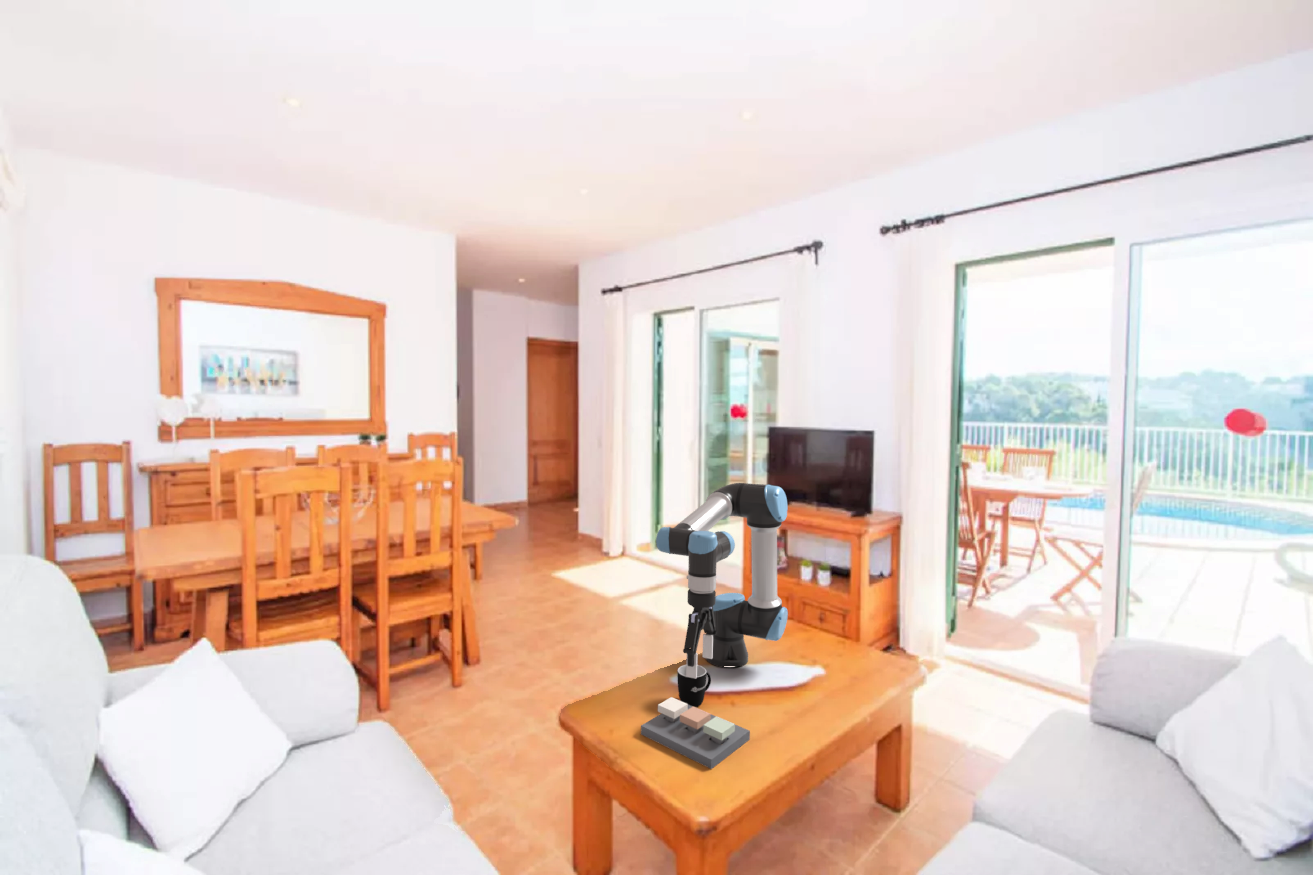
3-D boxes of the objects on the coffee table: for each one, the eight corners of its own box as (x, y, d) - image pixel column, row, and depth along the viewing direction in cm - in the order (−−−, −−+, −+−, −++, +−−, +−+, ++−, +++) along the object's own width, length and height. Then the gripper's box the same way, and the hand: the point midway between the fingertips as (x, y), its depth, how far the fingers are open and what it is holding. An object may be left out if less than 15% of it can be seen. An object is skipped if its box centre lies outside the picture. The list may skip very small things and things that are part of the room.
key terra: (693, 721, 173) (693, 706, 173) (710, 729, 169) (710, 713, 169) (679, 730, 168) (680, 714, 168) (697, 738, 164) (697, 722, 164)
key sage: (716, 732, 168) (716, 716, 167) (734, 740, 164) (734, 724, 163) (703, 741, 163) (703, 724, 163) (721, 749, 159) (722, 733, 159)
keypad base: (681, 709, 183) (681, 701, 183) (749, 739, 168) (749, 730, 168) (640, 734, 170) (641, 725, 170) (711, 769, 154) (711, 759, 154)
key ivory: (671, 712, 178) (671, 697, 178) (687, 719, 174) (687, 704, 174) (657, 720, 174) (657, 704, 173) (674, 727, 170) (674, 712, 169)
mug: (689, 713, 182) (689, 679, 181) (671, 700, 189) (671, 668, 188) (719, 701, 189) (720, 669, 188) (700, 690, 196) (701, 659, 195)
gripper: (702, 576, 177) (701, 648, 178) (672, 600, 154) (670, 683, 155) (728, 579, 174) (726, 652, 175) (700, 605, 151) (698, 689, 152)
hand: (699, 667), depth 165 cm, fingers open, 13 cm apart
